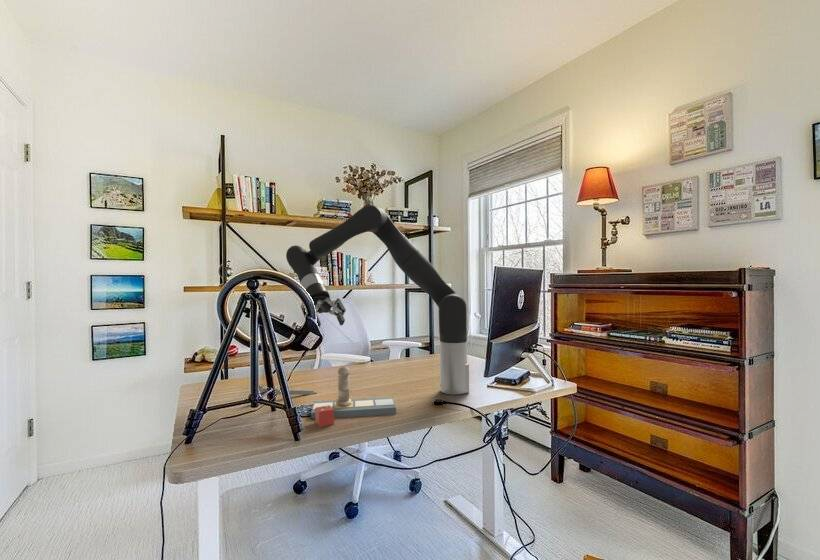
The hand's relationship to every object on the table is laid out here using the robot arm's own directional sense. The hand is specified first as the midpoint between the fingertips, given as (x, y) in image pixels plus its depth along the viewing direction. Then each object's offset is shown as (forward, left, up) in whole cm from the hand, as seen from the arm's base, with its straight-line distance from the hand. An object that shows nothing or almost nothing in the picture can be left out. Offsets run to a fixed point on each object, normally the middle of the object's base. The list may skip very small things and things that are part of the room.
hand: (331, 324), depth 131 cm
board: (-7, +13, -24) cm, 28 cm away
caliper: (+15, -3, -25) cm, 29 cm away
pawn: (-4, +13, -22) cm, 26 cm away
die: (+1, +22, -24) cm, 33 cm away
